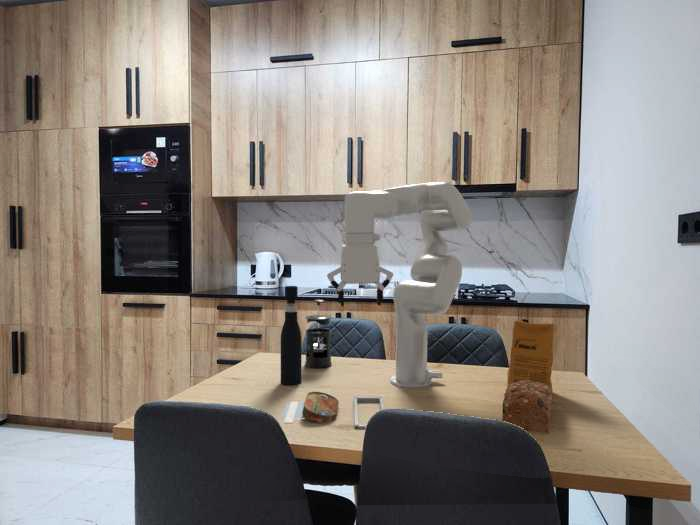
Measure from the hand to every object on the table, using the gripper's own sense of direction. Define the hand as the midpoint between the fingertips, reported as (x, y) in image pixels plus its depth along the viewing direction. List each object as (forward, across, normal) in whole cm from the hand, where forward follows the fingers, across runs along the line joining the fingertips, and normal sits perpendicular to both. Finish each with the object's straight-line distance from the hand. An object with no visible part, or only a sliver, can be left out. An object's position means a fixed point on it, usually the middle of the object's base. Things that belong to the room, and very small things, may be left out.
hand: (360, 305), depth 125 cm
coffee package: (+29, -48, -6) cm, 56 cm away
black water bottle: (+28, +20, -20) cm, 40 cm away
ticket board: (+27, +16, +7) cm, 32 cm away
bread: (+28, -39, +14) cm, 50 cm away
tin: (+26, +7, +7) cm, 28 cm away
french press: (+29, +12, -42) cm, 53 cm away
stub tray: (+27, -1, +9) cm, 29 cm away
